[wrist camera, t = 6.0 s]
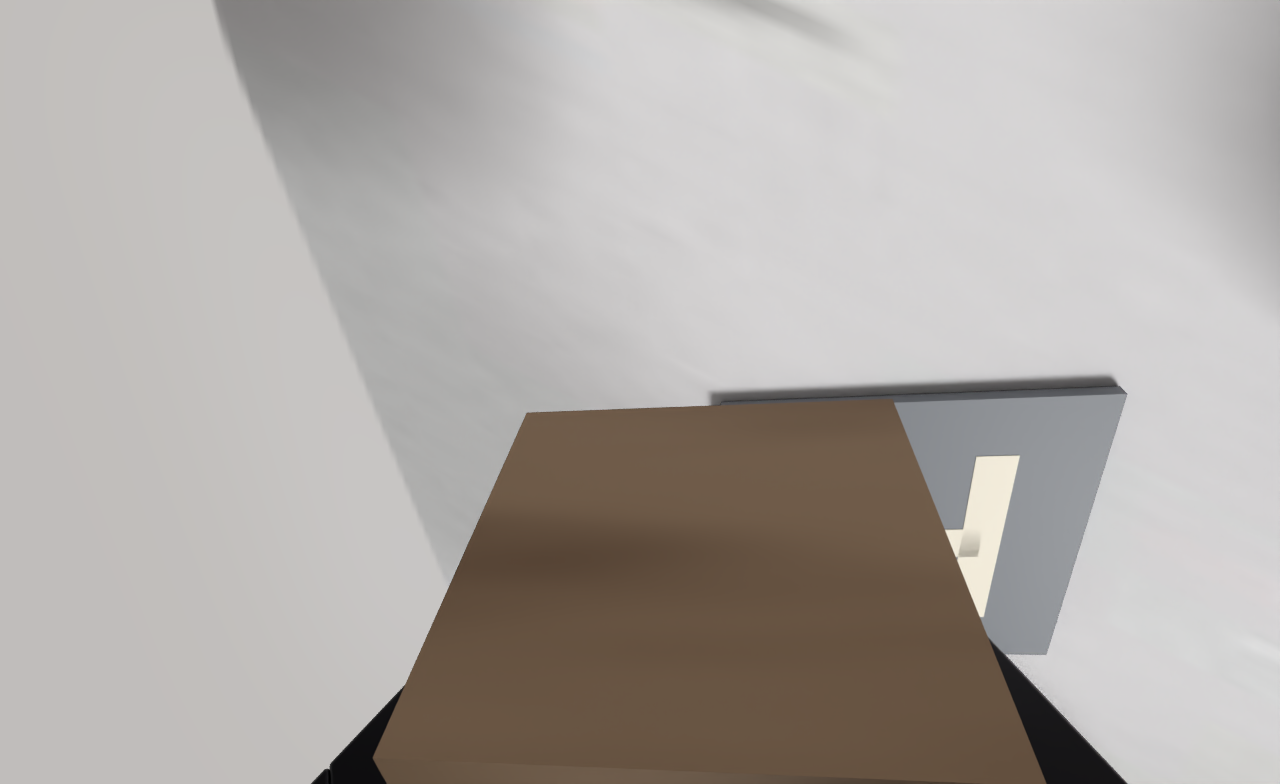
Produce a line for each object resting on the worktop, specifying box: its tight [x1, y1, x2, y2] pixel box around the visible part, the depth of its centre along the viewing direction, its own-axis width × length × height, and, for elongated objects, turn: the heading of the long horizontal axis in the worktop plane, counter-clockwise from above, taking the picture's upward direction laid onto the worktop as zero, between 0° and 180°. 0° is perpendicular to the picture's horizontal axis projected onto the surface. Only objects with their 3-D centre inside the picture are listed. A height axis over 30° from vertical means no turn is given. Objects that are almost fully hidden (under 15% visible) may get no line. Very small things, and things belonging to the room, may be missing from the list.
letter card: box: [721, 386, 1127, 655], centre depth 22 cm, size 11×11×1 cm
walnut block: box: [373, 399, 1046, 784], centre depth 8 cm, size 5×5×5 cm
